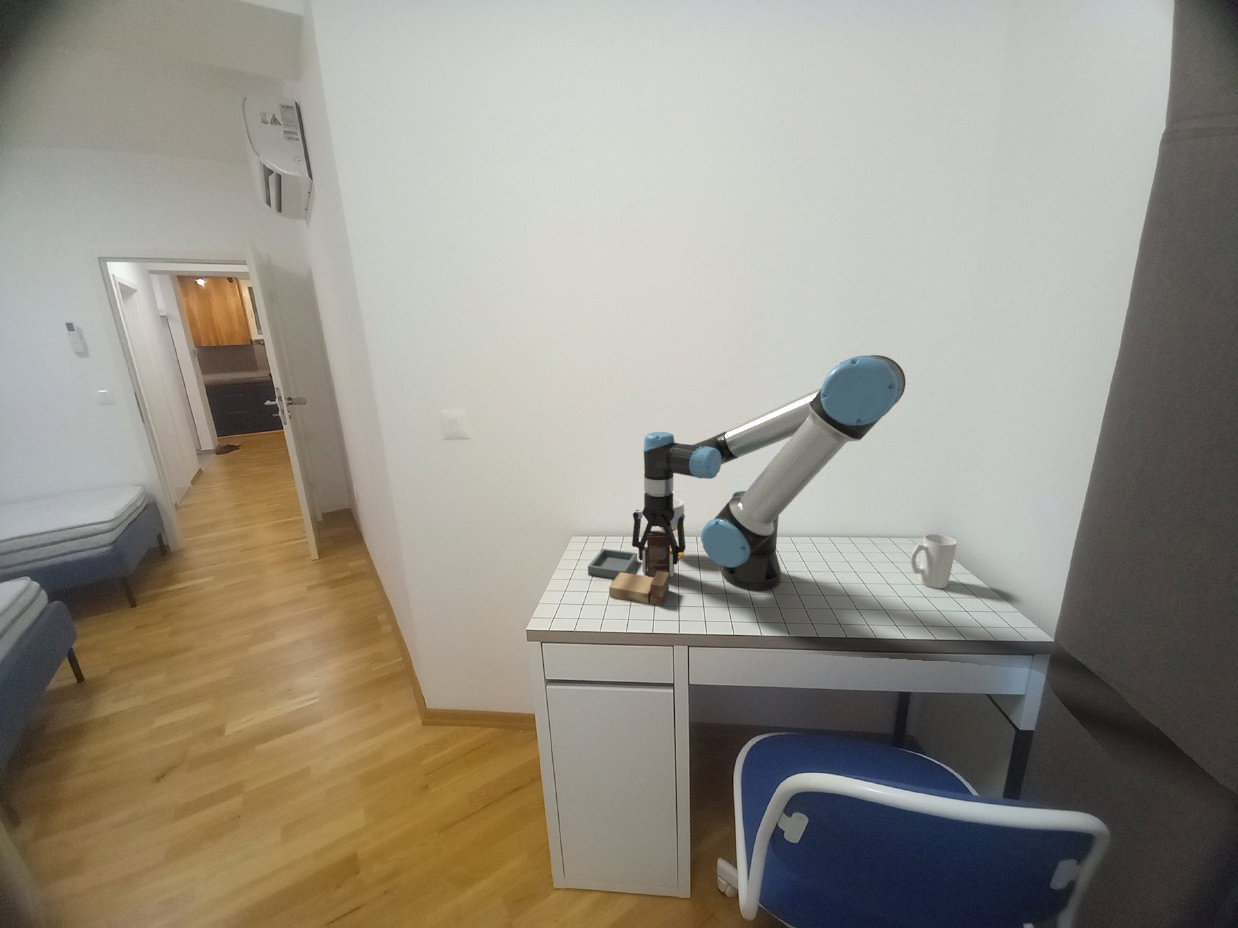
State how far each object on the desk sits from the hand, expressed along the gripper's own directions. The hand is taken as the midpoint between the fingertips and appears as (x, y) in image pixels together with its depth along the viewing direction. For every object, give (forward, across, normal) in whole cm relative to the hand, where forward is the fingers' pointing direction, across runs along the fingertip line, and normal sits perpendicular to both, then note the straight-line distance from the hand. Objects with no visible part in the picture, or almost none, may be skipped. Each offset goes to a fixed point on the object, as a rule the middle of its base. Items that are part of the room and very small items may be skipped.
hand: (658, 572), depth 122 cm
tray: (+1, +13, 0) cm, 13 cm away
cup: (+1, 0, -13) cm, 13 cm away
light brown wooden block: (+1, +4, +11) cm, 11 cm away
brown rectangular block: (+1, -3, +11) cm, 11 cm away
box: (+1, 0, 0) cm, 1 cm away
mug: (+1, -67, -15) cm, 69 cm away
